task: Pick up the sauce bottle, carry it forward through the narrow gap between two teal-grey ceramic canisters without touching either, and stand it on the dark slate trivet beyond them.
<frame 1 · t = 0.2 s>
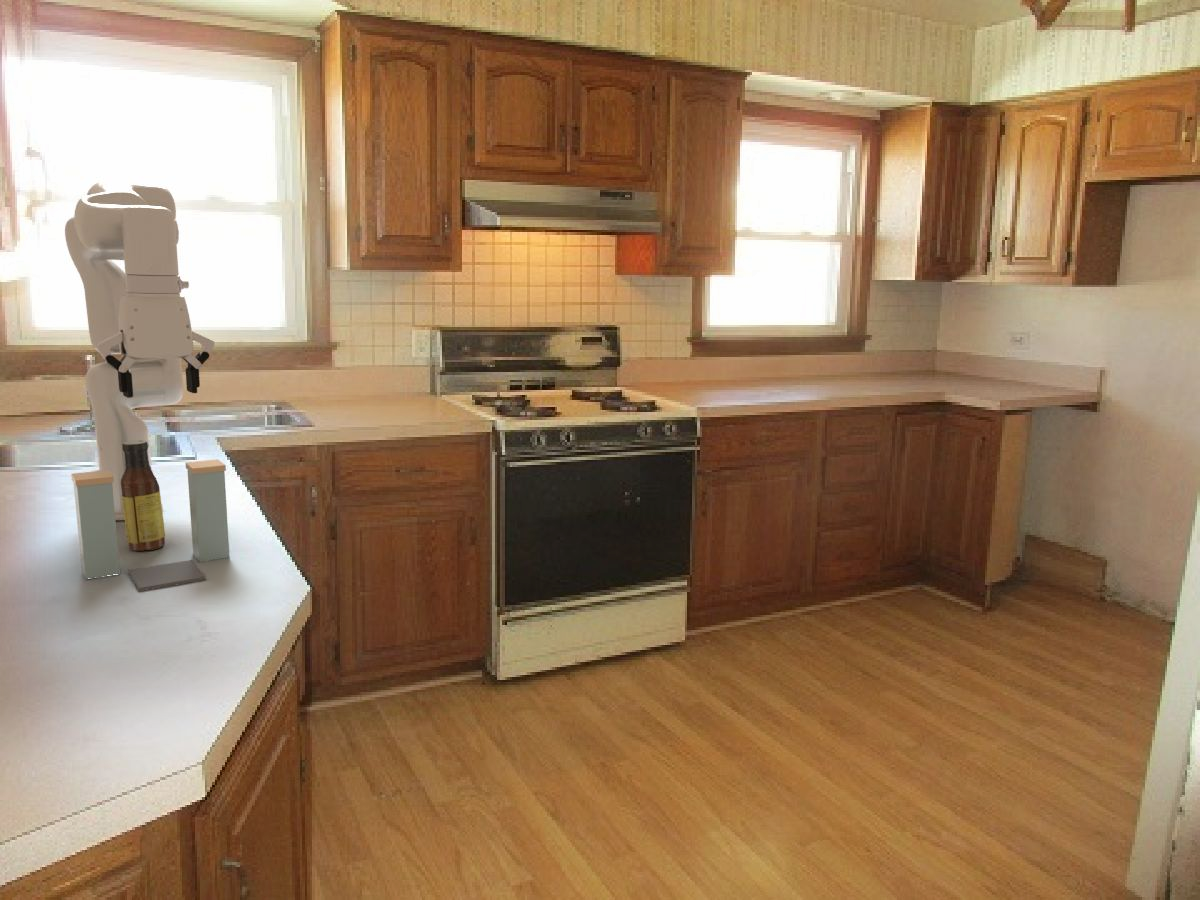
hand: (160, 394, 142), 31 cm above the table, tool pointing down, fingers open, 9 cm apart
sauce bottle: (146, 548, 162), on the table
trivet: (166, 576, 147), on the table
canister 1: (100, 573, 148), on the table
canister 2: (211, 555, 158), on the table
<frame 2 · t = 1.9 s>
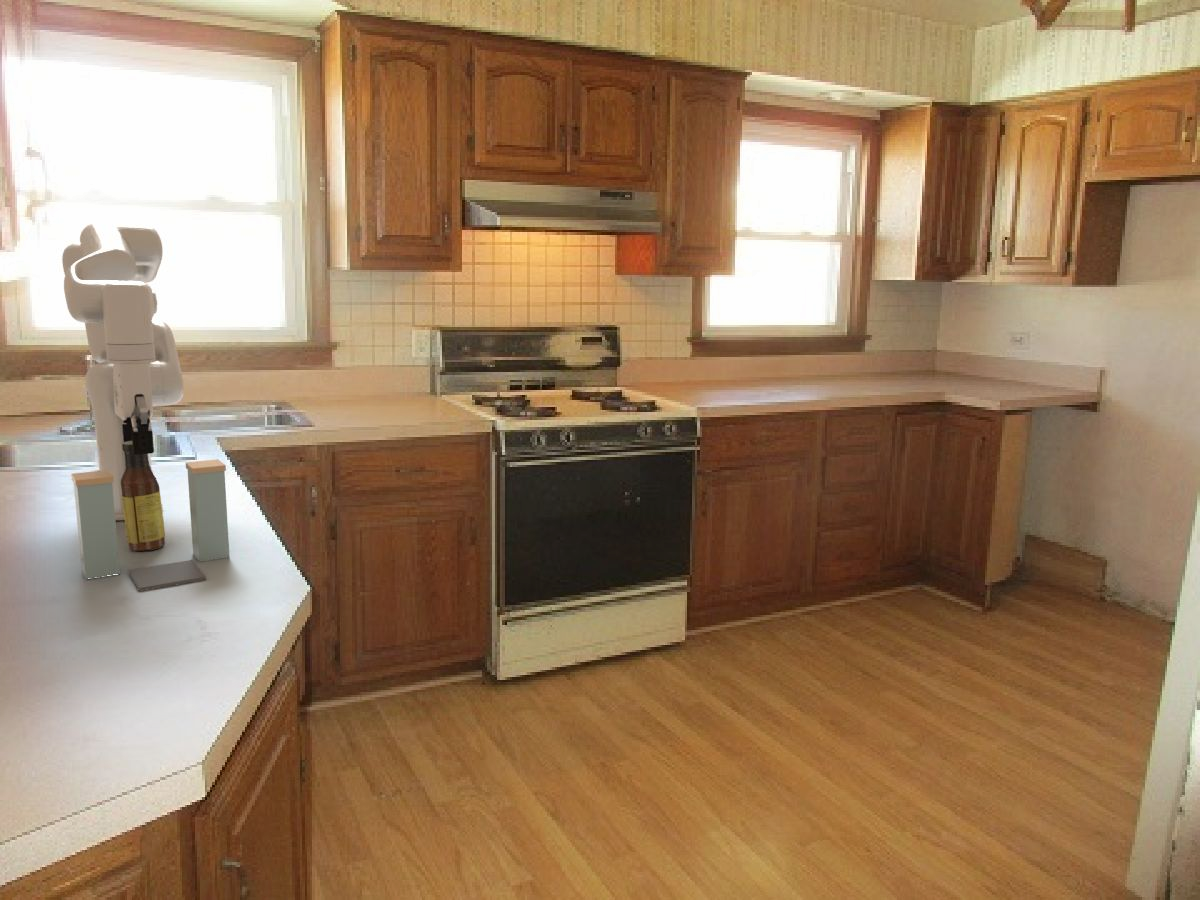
hand: (138, 449, 157), 19 cm above the table, tool pointing down, fingers open, 9 cm apart
nothing on the table moved.
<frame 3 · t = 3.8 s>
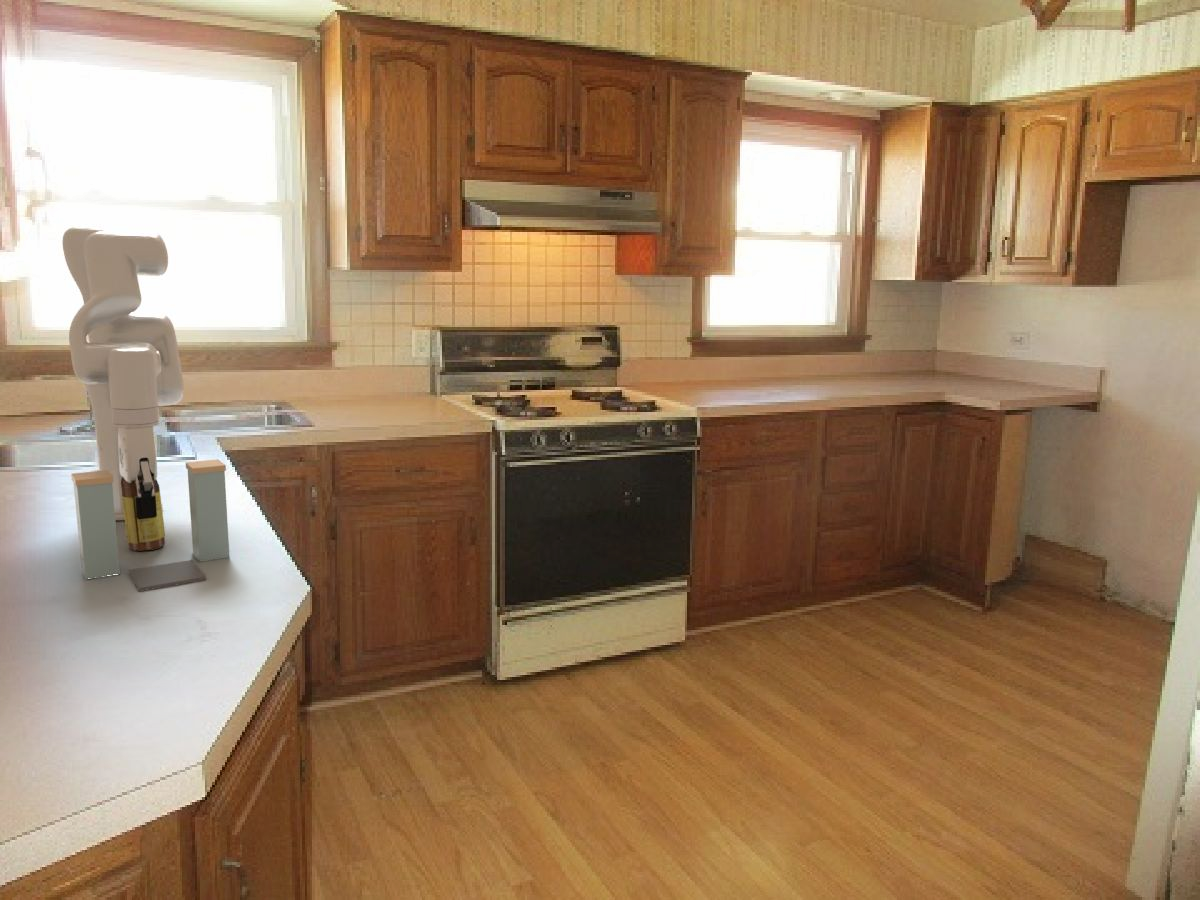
hand: (143, 512, 160), 7 cm above the table, tool pointing down, fingers closed on sauce bottle, 6 cm apart
sauce bottle: (146, 548, 162), on the table, touching gripper
everything else where it was.
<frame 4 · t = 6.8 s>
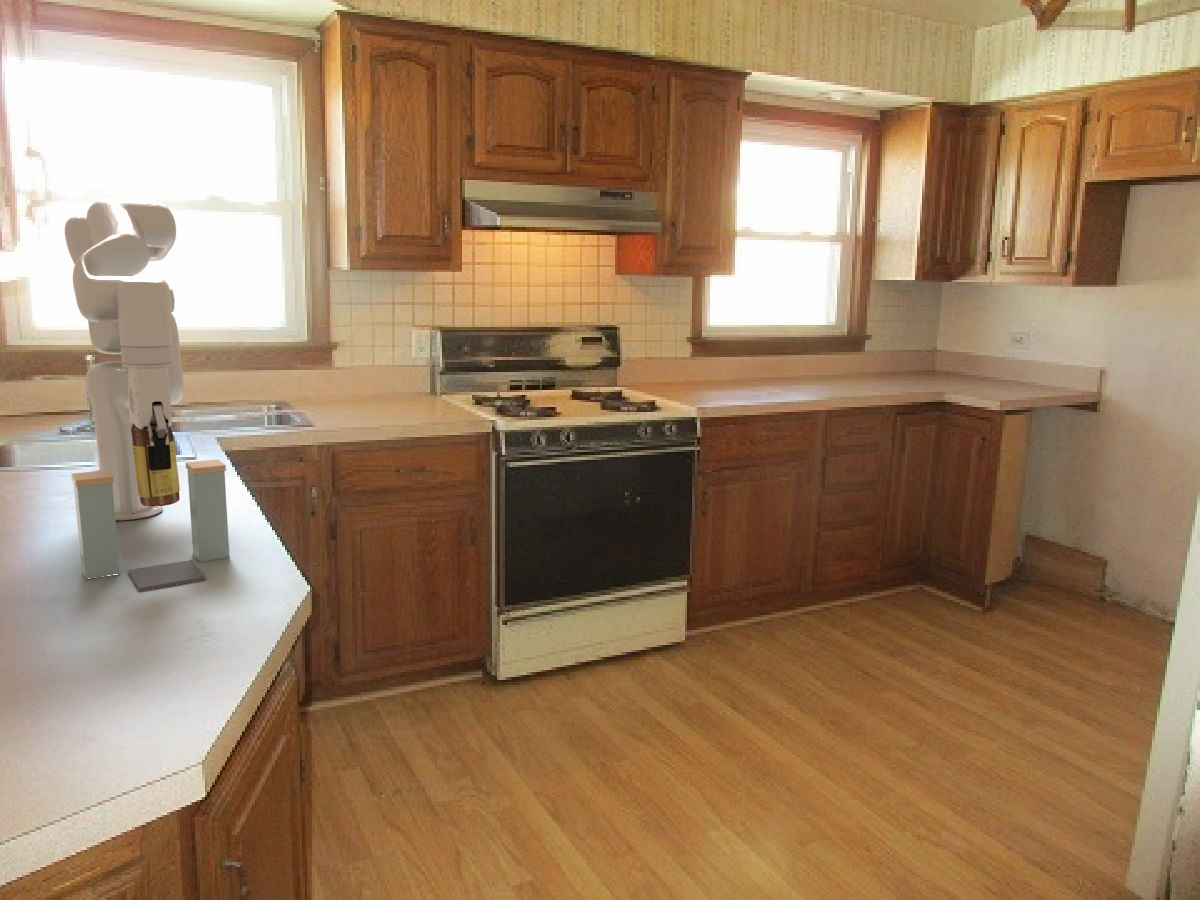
hand: (156, 464, 145), 19 cm above the table, tool pointing down, fingers closed on sauce bottle, 6 cm apart
sauce bottle: (159, 504, 146), point 12 cm above the table, touching gripper
everything else where it was.
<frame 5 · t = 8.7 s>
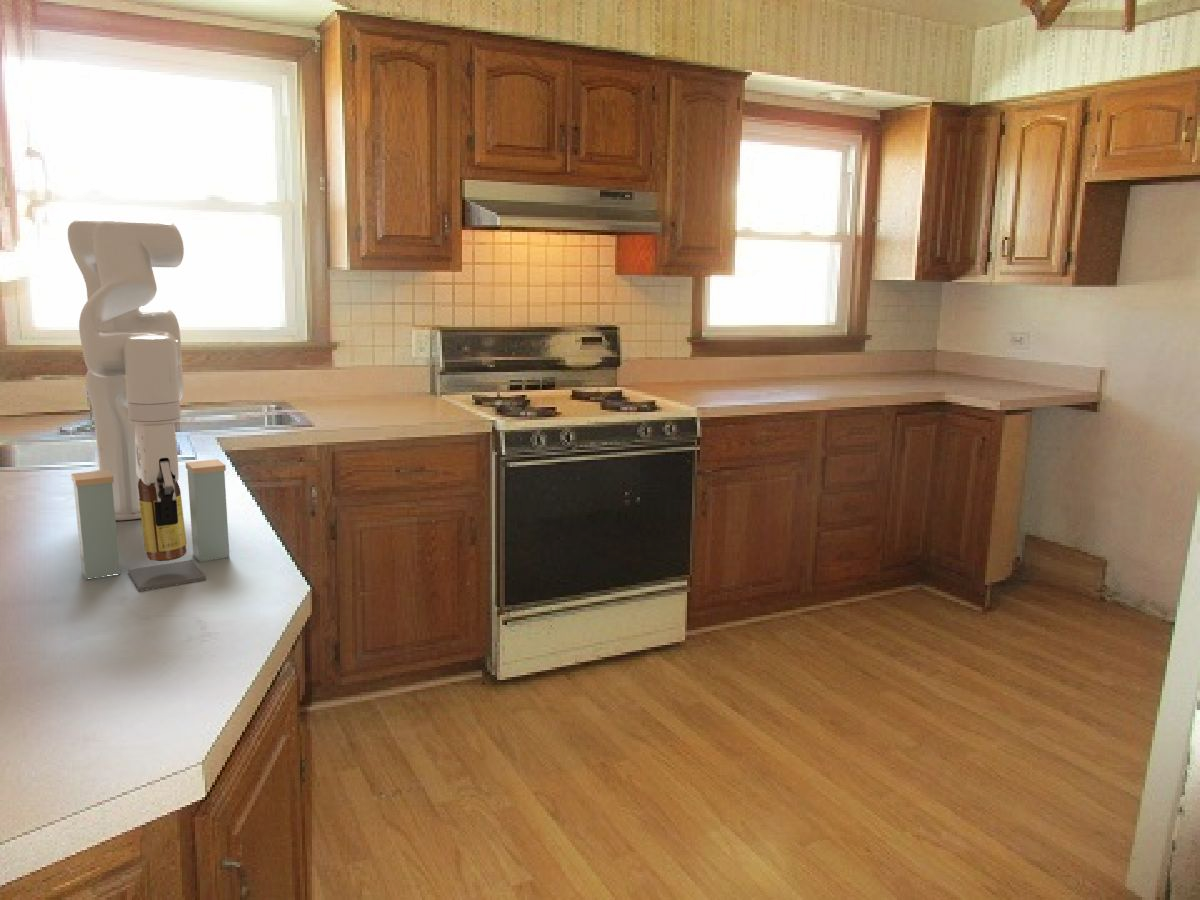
hand: (162, 518, 145), 10 cm above the table, tool pointing down, fingers closed on sauce bottle, 6 cm apart
sauce bottle: (165, 557, 146), point 3 cm above the table, touching gripper
everything else where it was.
when the fingers open (8 cm above the table, at t = 10.0 s): sauce bottle stays where it is, resting on trivet.
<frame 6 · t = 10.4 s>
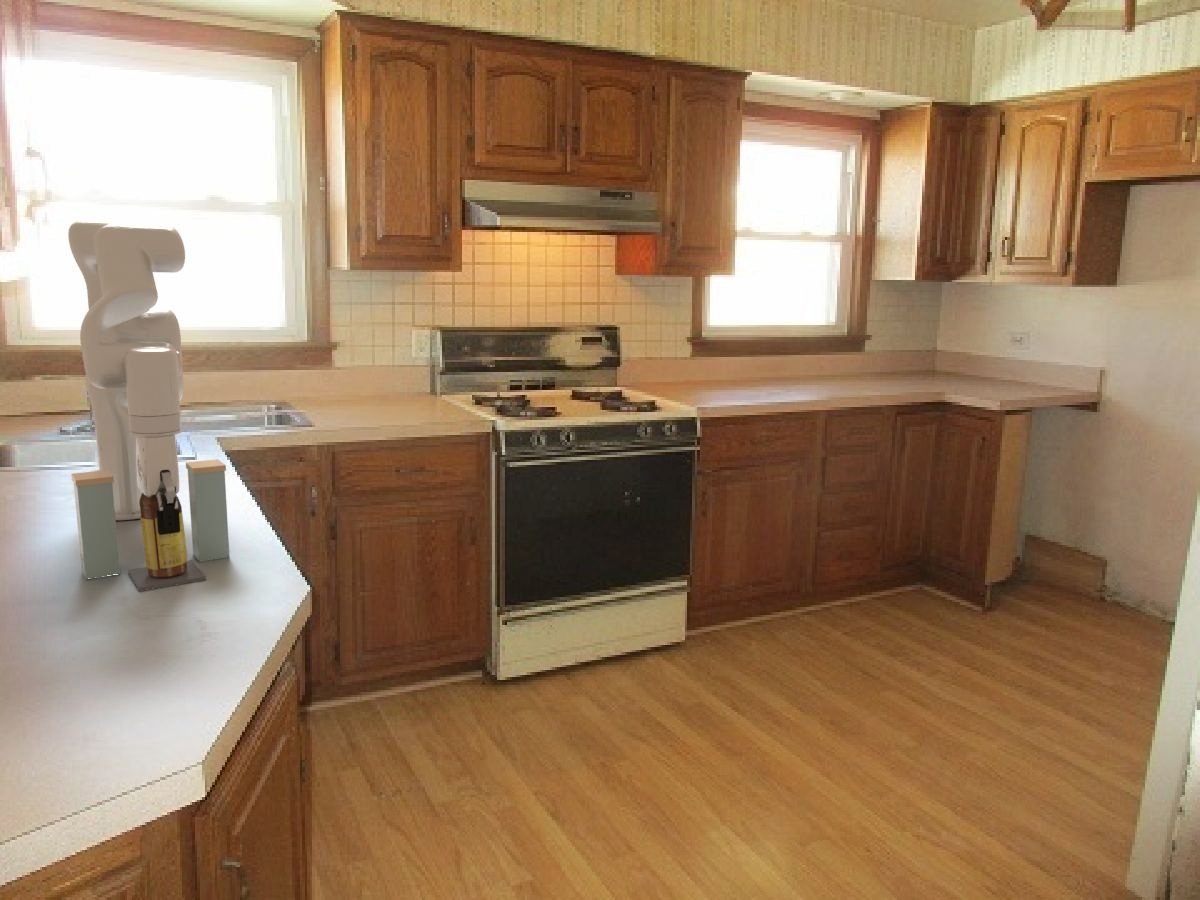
hand: (163, 525, 145), 9 cm above the table, tool pointing down, fingers open, 9 cm apart
sauce bottle: (166, 574, 147), resting on trivet
everything else where it was.
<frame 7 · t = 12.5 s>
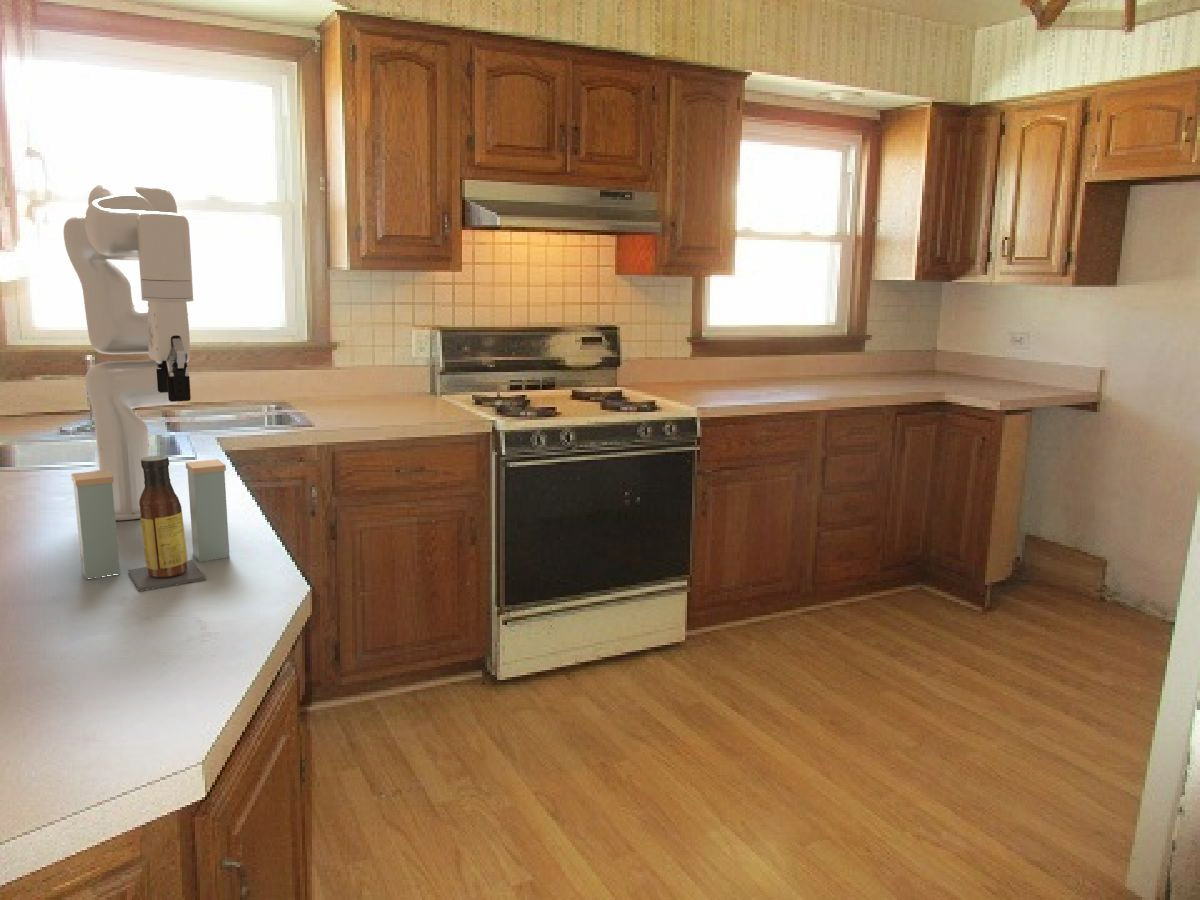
hand: (174, 396, 145), 30 cm above the table, tool pointing down, fingers open, 9 cm apart
nothing on the table moved.
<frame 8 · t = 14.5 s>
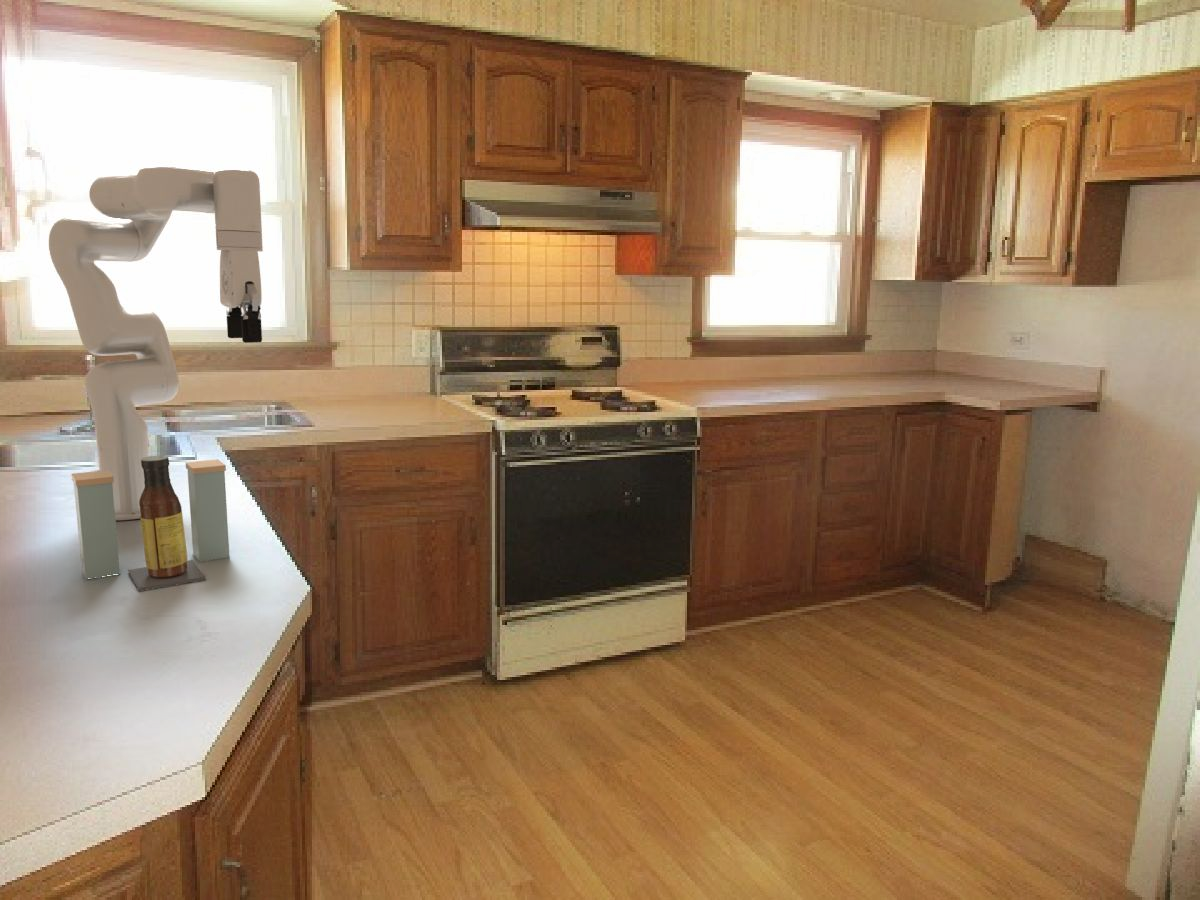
hand: (244, 340, 158), 38 cm above the table, tool pointing down, fingers open, 9 cm apart
nothing on the table moved.
at the end: sauce bottle inside the target area on the trivet (0.0 cm from its centre), point 0.4 cm above the trivet's base; canister 2 moved 0.0 cm from its start; canister 1 moved 0.0 cm from its start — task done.
